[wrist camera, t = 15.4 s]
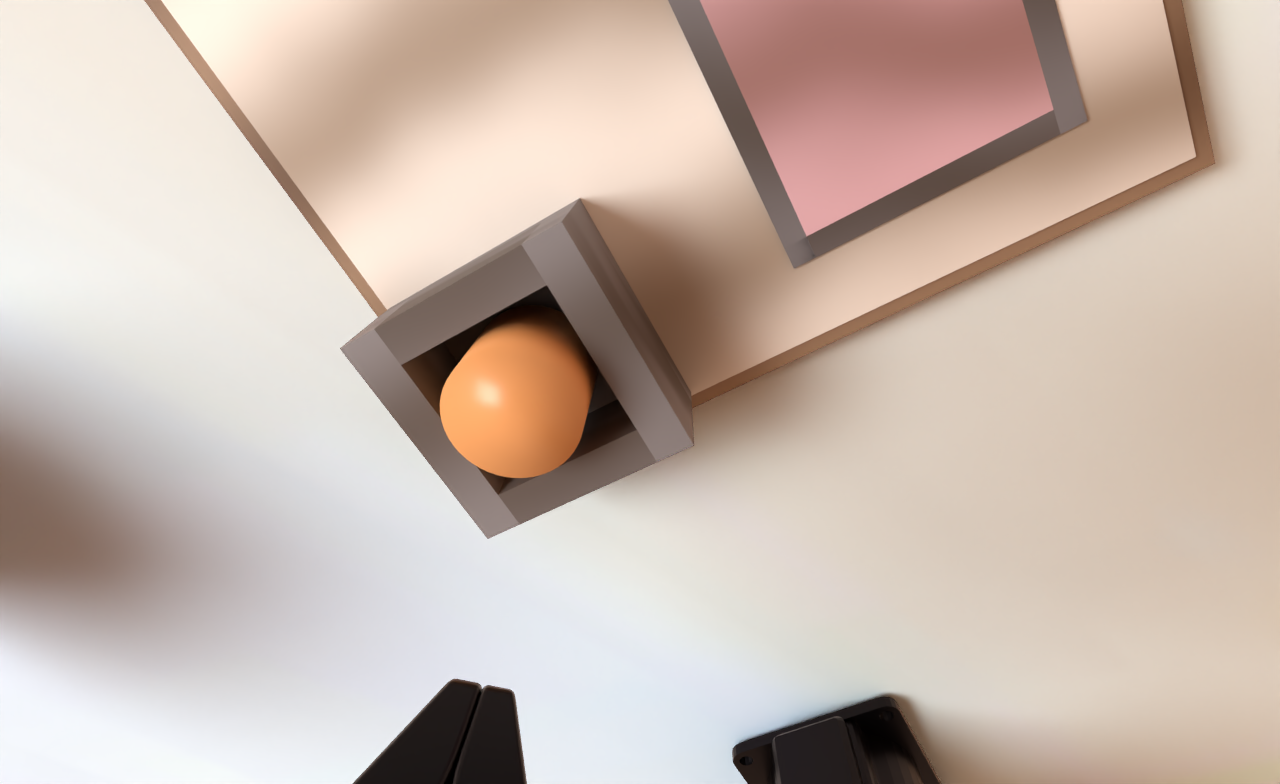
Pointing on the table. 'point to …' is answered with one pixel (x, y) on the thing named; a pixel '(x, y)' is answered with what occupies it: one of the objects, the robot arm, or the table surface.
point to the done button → (520, 394)
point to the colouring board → (681, 176)
